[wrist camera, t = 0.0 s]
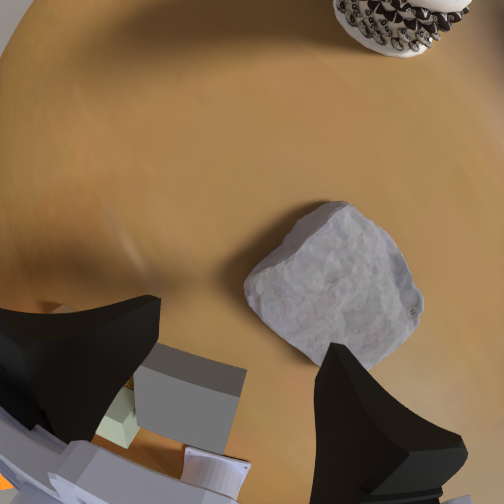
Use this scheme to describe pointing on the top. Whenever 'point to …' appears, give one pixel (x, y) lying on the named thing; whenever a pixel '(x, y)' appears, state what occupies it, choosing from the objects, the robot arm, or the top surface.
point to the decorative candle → (398, 23)
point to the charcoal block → (187, 397)
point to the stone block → (337, 287)
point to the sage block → (120, 419)
